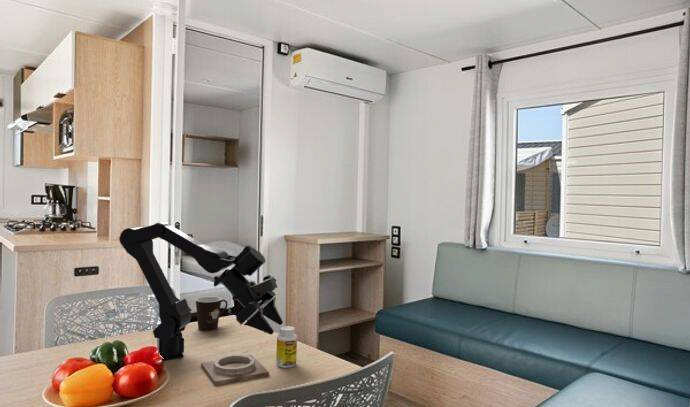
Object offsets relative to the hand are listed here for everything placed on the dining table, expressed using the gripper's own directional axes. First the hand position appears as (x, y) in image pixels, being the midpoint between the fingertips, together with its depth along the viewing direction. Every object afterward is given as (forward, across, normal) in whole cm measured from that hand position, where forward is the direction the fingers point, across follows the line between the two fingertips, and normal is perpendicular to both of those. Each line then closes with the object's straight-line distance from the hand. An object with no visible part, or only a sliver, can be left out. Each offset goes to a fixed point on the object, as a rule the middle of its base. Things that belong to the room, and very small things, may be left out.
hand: (277, 328), depth 129 cm
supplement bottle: (+9, 0, +5) cm, 11 cm away
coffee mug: (-15, +28, +29) cm, 43 cm away
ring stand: (0, -7, +14) cm, 15 cm away
